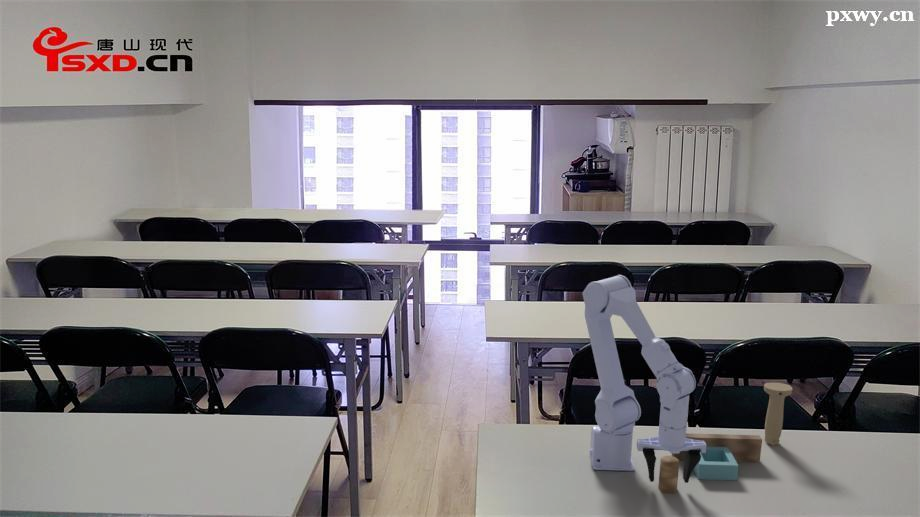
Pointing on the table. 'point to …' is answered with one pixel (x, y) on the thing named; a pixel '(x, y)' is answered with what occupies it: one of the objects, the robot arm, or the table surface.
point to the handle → (775, 411)
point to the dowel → (668, 474)
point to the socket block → (717, 464)
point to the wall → (730, 445)
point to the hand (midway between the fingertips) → (668, 479)
